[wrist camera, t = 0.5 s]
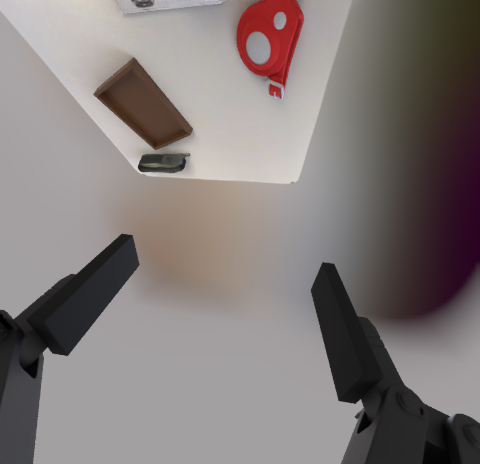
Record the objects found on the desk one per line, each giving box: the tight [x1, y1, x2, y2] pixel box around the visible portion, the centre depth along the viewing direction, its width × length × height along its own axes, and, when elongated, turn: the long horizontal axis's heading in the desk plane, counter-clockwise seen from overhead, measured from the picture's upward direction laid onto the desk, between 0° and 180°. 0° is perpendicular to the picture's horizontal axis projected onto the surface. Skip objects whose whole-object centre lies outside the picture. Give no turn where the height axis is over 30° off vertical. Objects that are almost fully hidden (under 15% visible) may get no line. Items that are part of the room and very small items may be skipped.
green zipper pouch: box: [138, 154, 190, 173], centre depth 55 cm, size 5×3×15 cm
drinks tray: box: [93, 58, 193, 150], centre depth 43 cm, size 15×12×2 cm
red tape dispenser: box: [237, 0, 304, 100], centre depth 30 cm, size 12×4×10 cm
